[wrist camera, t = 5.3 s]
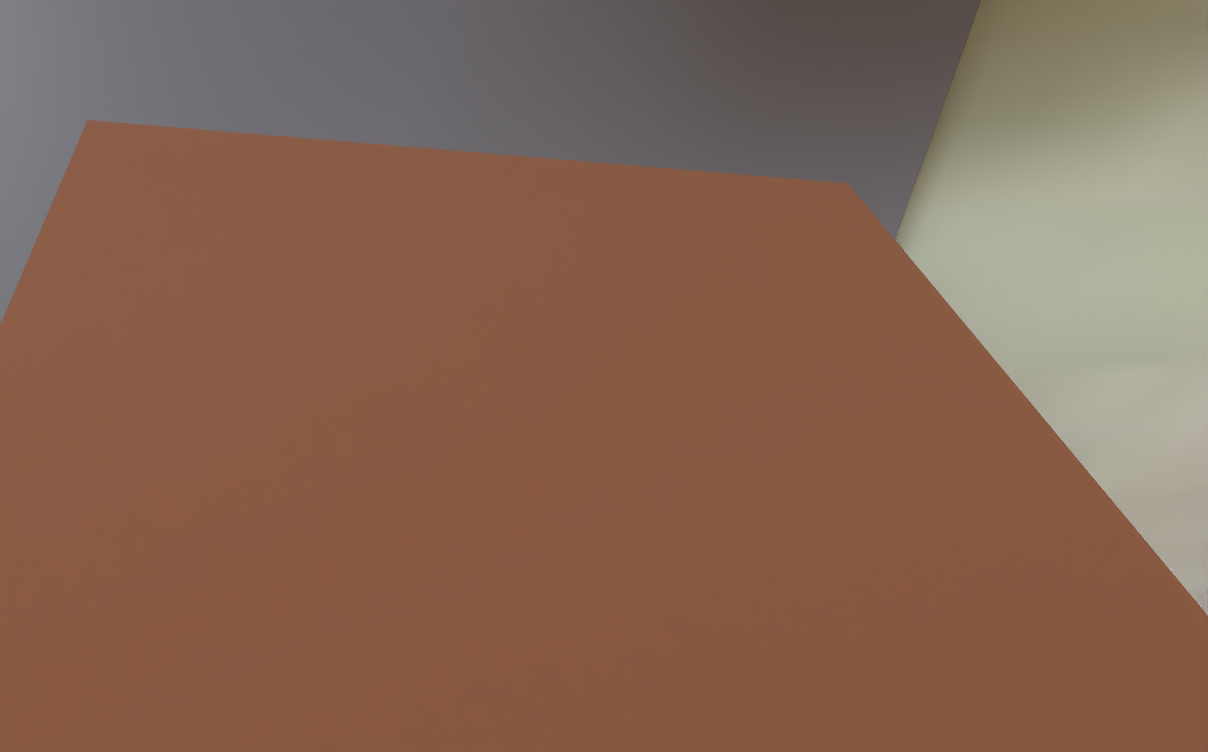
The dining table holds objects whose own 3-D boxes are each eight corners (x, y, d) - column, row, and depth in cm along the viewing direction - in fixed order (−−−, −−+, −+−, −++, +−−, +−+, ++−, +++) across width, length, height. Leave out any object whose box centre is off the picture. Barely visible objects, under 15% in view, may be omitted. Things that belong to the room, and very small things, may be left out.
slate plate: (775, 500, 20) (789, 531, 20) (-109, 497, 17) (-126, 535, 16) (1103, -457, 12) (1145, -457, 12) (-421, -855, 9) (-479, -886, 8)
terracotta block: (693, 659, 11) (908, 1301, 7) (133, 679, 10) (-5, 1484, 6) (848, 183, 8) (1356, 793, 4) (88, 120, 7) (-258, 924, 3)
